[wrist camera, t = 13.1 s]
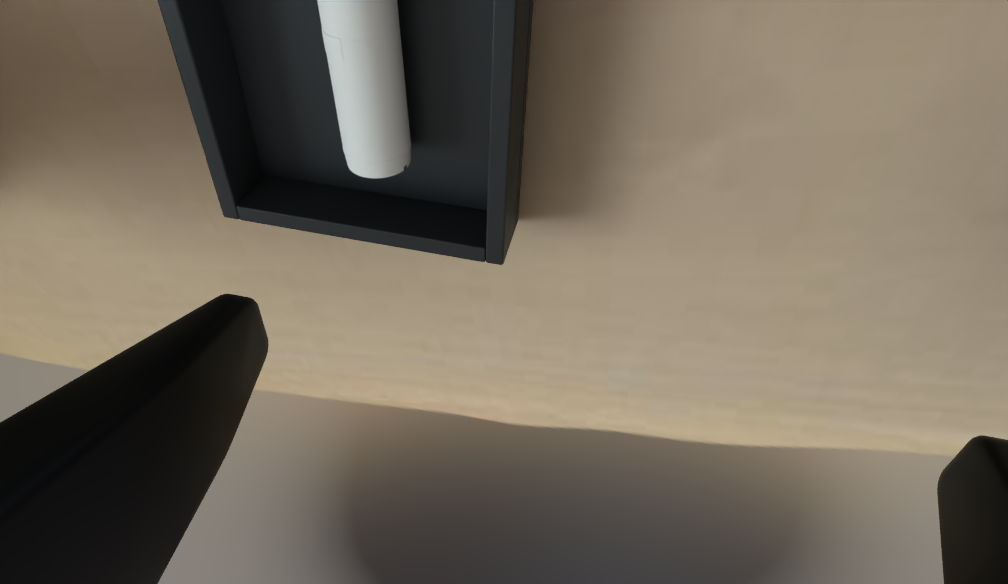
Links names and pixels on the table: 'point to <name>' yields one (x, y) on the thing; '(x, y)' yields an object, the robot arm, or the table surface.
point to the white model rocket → (368, 84)
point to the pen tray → (315, 128)
